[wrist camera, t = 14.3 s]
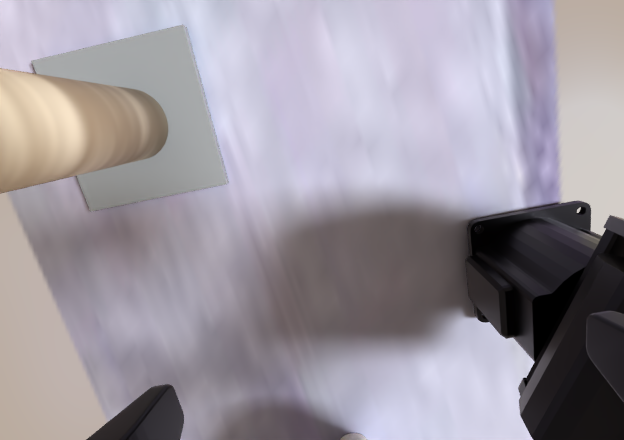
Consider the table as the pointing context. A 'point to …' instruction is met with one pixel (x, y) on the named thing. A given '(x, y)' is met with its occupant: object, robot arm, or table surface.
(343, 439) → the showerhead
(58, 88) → the peg
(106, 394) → the table surface
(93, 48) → the mat
